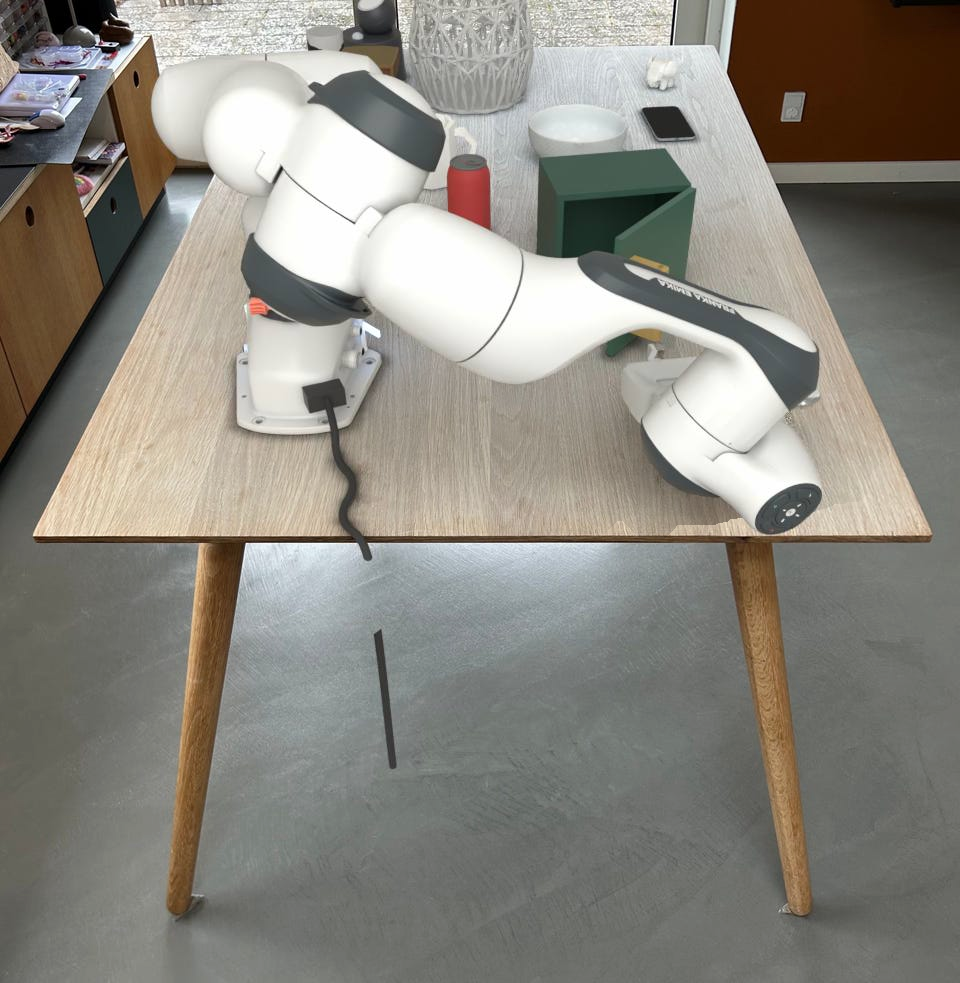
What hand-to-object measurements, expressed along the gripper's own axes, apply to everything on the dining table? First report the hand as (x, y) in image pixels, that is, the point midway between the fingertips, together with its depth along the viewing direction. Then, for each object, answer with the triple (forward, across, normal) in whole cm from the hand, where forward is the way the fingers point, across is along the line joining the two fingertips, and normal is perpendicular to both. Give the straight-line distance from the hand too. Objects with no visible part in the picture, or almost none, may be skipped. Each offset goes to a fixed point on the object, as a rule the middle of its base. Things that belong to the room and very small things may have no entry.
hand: (693, 344), depth 121 cm
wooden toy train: (+88, +35, +10) cm, 96 cm away
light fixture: (+123, +28, +10) cm, 127 cm away
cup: (+107, +37, +10) cm, 114 cm away
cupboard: (+32, +2, +10) cm, 34 cm away
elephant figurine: (+107, -29, +10) cm, 112 cm away
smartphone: (+88, -24, +10) cm, 92 cm away
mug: (+72, +20, +10) cm, 76 cm away
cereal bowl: (+75, -4, +10) cm, 76 cm away
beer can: (+51, +19, +10) cm, 55 cm away
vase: (+110, +9, +10) cm, 111 cm away
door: (+18, -3, +10) cm, 20 cm away
